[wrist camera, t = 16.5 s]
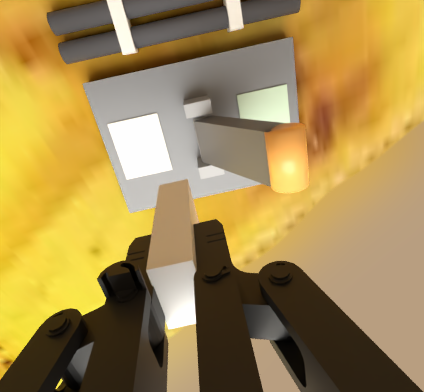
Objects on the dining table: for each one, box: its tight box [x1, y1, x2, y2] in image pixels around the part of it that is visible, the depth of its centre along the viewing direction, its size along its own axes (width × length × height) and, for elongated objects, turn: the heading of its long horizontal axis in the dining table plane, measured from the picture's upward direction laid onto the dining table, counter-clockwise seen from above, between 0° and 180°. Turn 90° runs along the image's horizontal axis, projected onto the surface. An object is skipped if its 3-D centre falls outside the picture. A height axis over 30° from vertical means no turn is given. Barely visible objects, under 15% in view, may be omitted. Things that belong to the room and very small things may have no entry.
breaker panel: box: [83, 37, 299, 213], centre depth 30 cm, size 20×14×5 cm
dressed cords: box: [47, 0, 301, 64], centre depth 27 cm, size 22×5×2 cm, turn 102°
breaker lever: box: [193, 115, 309, 193], centre depth 24 cm, size 3×4×13 cm, turn 12°
